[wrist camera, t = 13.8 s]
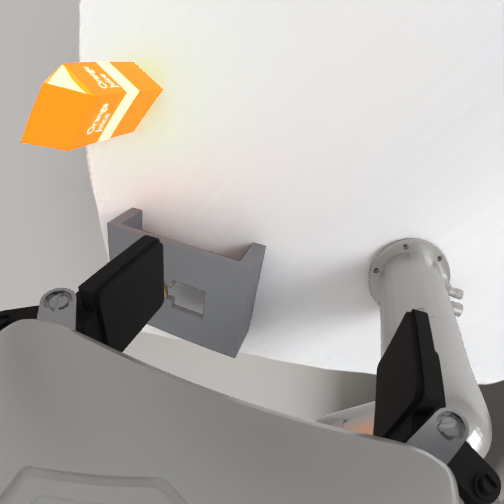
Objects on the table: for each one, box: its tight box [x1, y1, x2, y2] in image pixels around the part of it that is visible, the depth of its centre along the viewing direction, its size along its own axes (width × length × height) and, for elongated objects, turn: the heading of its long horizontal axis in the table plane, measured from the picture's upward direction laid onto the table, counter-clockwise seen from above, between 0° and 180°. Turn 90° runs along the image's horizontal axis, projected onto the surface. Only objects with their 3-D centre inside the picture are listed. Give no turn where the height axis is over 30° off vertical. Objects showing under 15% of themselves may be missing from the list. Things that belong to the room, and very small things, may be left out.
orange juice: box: [21, 62, 163, 151], centre depth 36 cm, size 8×9×20 cm
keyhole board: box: [107, 208, 266, 358], centre depth 53 cm, size 24×18×7 cm
